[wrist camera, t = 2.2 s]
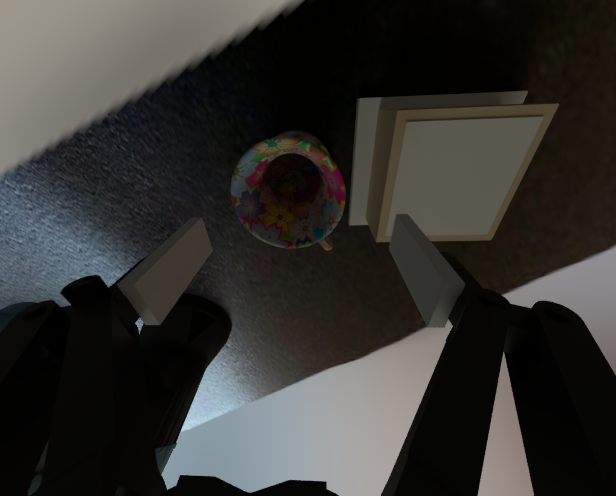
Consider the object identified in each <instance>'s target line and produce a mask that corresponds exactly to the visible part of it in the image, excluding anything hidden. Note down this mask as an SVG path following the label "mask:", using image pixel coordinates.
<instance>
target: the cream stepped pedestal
mask: <svg viewBox="0 0 616 496" xmlns="http://www.w3.org/2000/svg"><path fill="white" fill-rule="evenodd" d="M527 92H528V91H512V92H490V93H467V94H445V95H422V96H400V97H377V98H358V99H357V109H356V123H355V136H354V150H353V164H352V177H351V191H350V205H349V218H348V222H349V225H369V227H370V229H371V232H372V234H373V236H374V238H375V240H376V242H390V241H391V236H392V232H393V227H394V222H395V217H396V214H408V215H409V216H410V217H411V218H412V220H413V221H414V222H415V223H416V224H417V226H418V227H419V228H420V229H421V230H422V232H423V233H424V234H425V235H426V237H427V238H428V239H429V240H430V241H469V240H491V239H492V237H493V235H494V233H495V231H496V229H497V227H498V225H499V223H500V221H501V219H502V217H503V215H504V213H505V211H506V209H507V207H508V205H509V203H510V201H511V199H512V197H513V195H514V193H515V191H516V189H517V187H518V185H519V183H520V181H521V179H522V177H523V175H524V173H525V171H526V169H527V167H528V165H529V163H530V162H531V160H532V158H533V156H534V154H535V152H536V150H537V148H538V146H539V144H540V142H541V140H542V138H543V136H544V134H545V132H546V130H547V128H548V126H549V124H550V122H551V120H552V118H553V116H554V114H555V112H556V110H557V108H558V106H559V104H523V102H524V99H525V97H526V95H527Z"/></svg>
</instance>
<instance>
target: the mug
mask: <svg viewBox="0 0 616 496" xmlns="http://www.w3.org/2000/svg"><path fill="white" fill-rule="evenodd" d="M231 199H232V203H233V207H234V210H235V212H236V214H237V216H238V218H239V220H240V221H241V223H242V224H243V225H244V226H245V228H246V229H247V230H248V231H249V232H250V233H252V234H253V235H254V236H255V237H257V238H258V239H260V240H262V241H264V242H266V243H268V244H270V245H273V246H277V247H282V248H301V247H306V246H309V245H312V244H314V243H316V242H319V243H320V245H321V246H322V247H323V248H324V249H325V250H330V249H332V248H333V242H332V238H331V236H330V232H331V231H332V230H333V229H334V228H335V227H336V225H337V224H338V222H339V220H340V218H341V216H342V213H343V210H344V207H345V199H346V193H345V185H344V181H343V178H342V175H341V173H340V170H339V168H338V167H337V165H336V164H335V162H334V161H333V160H332V158H331V157H330V155H329V152H328V150H327V149H326V147H325V146H324V144H323V143H322V142H321V141H320V140H319V139H318V138H316V137H315V136H313V135H311V134H309V133H307V132H303V131H287V132H284V133H281V134H279V135H277V136H276V137H274V138H270V139H267V140H264V141H262V142H260V143H258V144H256V145H254V146H253V147H252V148H250V149H249V150H248V151H247V152H246V153H245V154H244V155H243V156H242V157H241V159H240V160H239V161H238V163H237V165H236V167H235V169H234V172H233V175H232V180H231Z"/></svg>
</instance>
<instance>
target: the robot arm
mask: <svg viewBox="0 0 616 496" xmlns="http://www.w3.org/2000/svg"><path fill="white" fill-rule="evenodd" d="M389 250H390V252H391V254H392V256H393V258H394V260H395V262H396V264H397V266H398V268H399V270H400V273H401V275H402V277H403V279H404V281H405V283H406V285H407V287H408V289H409V291H410V293H411V295H412V297H413V299H414V301H415V303H416V305H417V307H418V309H419V311H420V313H421V315H422V317H423V319H424V321H425V323H426V325H427V327H445V325H446V323H447V321H448V319H449V321H450V322H451V324H452V325H453V327H452V329H451V331H450V333H449V335H448V337H447V339H446V343H445V346H444V348H443V350H442V353H441V355H440V358H439V360H438V362H437V365H436V367H435V370H434V372H433V375H432V377H431V379H430V382H429V384H428V386H427V389H426V391H425V393H424V396H423V399H422V401H421V404H420V405H419V408H418V410H417V413H416V415H415V417H414V420H413V423H412V425H411V427H410V429H409V432H408V434H407V437H406V439H405V441H404V444H403V446H402V449H401V451H400V453H399V456H398V458H397V461H396V463H395V465H394V468H393V470H392V473H391V475H390V477H389V479H388V482H387V484H386V486H385V488H384V490H383V492H382V494H381V496H477V495H478V489H479V484H480V479H481V473H482V467H483V462H484V456H485V451H486V445H487V440H488V434H489V429H490V423H491V417H492V412H493V406H494V401H495V395H496V390H497V383H498V378H499V372H500V367H501V362H502V356H503V352H504V353H505V358H506V363H507V368H508V372H509V377H510V382H511V387H512V392H513V396H514V400H515V406H516V411H517V415H518V420H519V425H520V429H521V434H522V439H523V444H524V449H525V453H526V458H527V463H528V468H529V473H530V477H531V482H532V487H533V492H534V496H616V375H615V374H614V372H613V370H612V368H611V367H610V365H609V363H608V362H607V360H606V359H605V357H604V355H603V353H602V352H601V350H600V348H599V347H598V345H597V343H596V342H595V340H594V338H593V337H592V335H591V333H590V331H589V330H588V328H587V326H586V325H585V323H584V321H583V320H582V319H581V318H580V317H579V316H578V315H577V314H576V313H575V312H573V311H572V310H570V309H569V308H567V307H565V306H563V305H560V304H557V303H554V302H549V301H538V302H536V303H535V304H534V305H533V307H532V308H527V307H522V306H518V305H513V304H510V303H509V301H508V300H507V299H506V298H505V297H503V296H502V295H500V294H499V293H496V292H494V291H492V290H488V289H483V288H482V287H481V286H480V284H479V283H478V282H477V281H476V280H475V279H474V278H473V277H472V276H471V274H470V273H469V272H468V271H466V269H465V268H464V267H463V266H462V265H461V263H460V262H459V261H458V260H457V259H456V258H455V257H454V256H452V255H451V254H449V253H447V252H439V251H438V250H437V249H436V247H435V246H434V245H433V244H432V243H431V241H430V240H429V239H428V238H427V237H426V235H425V234H424V233H423V232H422V230H421V229H420V228H419V227H418V226H417V224H416V223H415V222H414V221H413V220H412V218H411V217H410V216H409V215H408V214H396V217H395V222H394V227H393V232H392V236H391V241H390V246H389ZM212 251H213V249H212V246H211V243H210V240H209V237H208V234H207V231H206V228H205V225H204V223H203V220H202V218H190V219H189V220H188V221H187V222H186V223H185V224H184V225H183V226H181V227H180V228H179V229H178V230H177V231H176V232H175V233H174V234H173V235H171V236H170V237H169V238H168V239H167V240H166V241H165V242H164V243H163V244H161V245H160V246H159V247H158V248H157V249H156V250H155V251H154V252H153V253H151V254H150V255H149V256H147V257H145V258H143V259H142V260H140V261H139V262H138V263H137V264H135V265H134V266H133V268H131V269H130V270H129V271H128V273H125V274H124V275H123V276H122V277H121V278H120V279H118V280H117V281H116V282H115V283H114V284H113V285H112V286H110V287H109V288H108V287H107V285H106V284H105V283H104V281H103V280H102V279H101V277H100V276H97V275H92V276H87V277H83V278H80V279H78V280H75V281H73V282H72V283H70V284H68V285H67V286H66V287H64V288H63V289H62V291H61V292H60V293H61V294H62V295H63V296H64V297H65V298H66V299H67V300H68V302H69V303H70V304H71V305H70V306H65V307H60V306H59V305H58V304H57V303H56V302H55V301H52V300H48V301H42V302H39V303H35V302H22V303H16V304H13V305H10V306H7V307H5V308H3V309H1V310H0V496H24V495H25V493H26V490H27V488H28V486H29V483H30V481H31V479H32V476H33V474H34V472H35V471H38V472H39V475H37V476H35V478H34V479H33V480H32V485H31V486H30V488H29V491H28V495H29V496H338V495H337V494H336V493H333V492H331V491H329V490H327V489H326V482H324V481H323V482H322V481H301V480H288V481H285V482H282V483H279V484H276V485H273V486H270V487H267V488H264V489H261V490H259V491H255V492H252V493H248V492H245V491H243V490H241V489H239V488H237V487H235V486H233V485H231V484H229V483H227V482H225V481H223V480H221V479H219V478H217V477H211V476H189V475H180V477H179V480H178V483H177V485H176V486H175V487H173V488H171V489H168V490H167V488H166V485H165V482H164V479H163V477H162V476H161V474H162V472H163V470H164V468H165V466H166V464H167V462H168V459H169V457H170V455H171V453H172V451H173V449H174V448H175V447H176V444H177V443H176V441H177V439H178V436H179V434H180V431H181V429H182V426H183V424H184V422H185V419H186V417H187V414H188V412H189V409H190V407H191V404H192V402H193V399H194V397H195V395H196V392H197V390H198V387H199V385H200V382H201V380H202V377H203V375H204V372H205V370H206V368H207V367H208V365H209V364H210V363H211V362H212V361H213V359H214V358H215V357H216V355H217V354H218V353H219V352H220V350H221V349H222V348H223V347H224V345H225V344H226V342H227V341H228V338H229V335H230V333H231V329H232V324H231V321H230V318H229V317H228V315H227V314H226V313H225V312H224V311H223V310H222V309H221V308H220V307H219V306H217V305H216V304H214V303H212V302H211V301H209V300H206V299H204V298H201V297H198V296H194V295H189V294H183V292H184V291H185V289H186V288H187V287H188V285H189V284H190V282H191V281H192V280H193V278H194V277H195V275H196V274H197V273H198V271H199V270H200V268H201V267H202V265H203V264H204V263H205V261H206V260H207V258H208V257H209V256H210V254H211V253H212ZM139 318H141V319H142V321H143V322H144V323H143V326H142V328H141V331H140V334H139V331H138V327H137V325H136V324H135V322H136V321H137V320H138V319H139Z"/></svg>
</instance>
